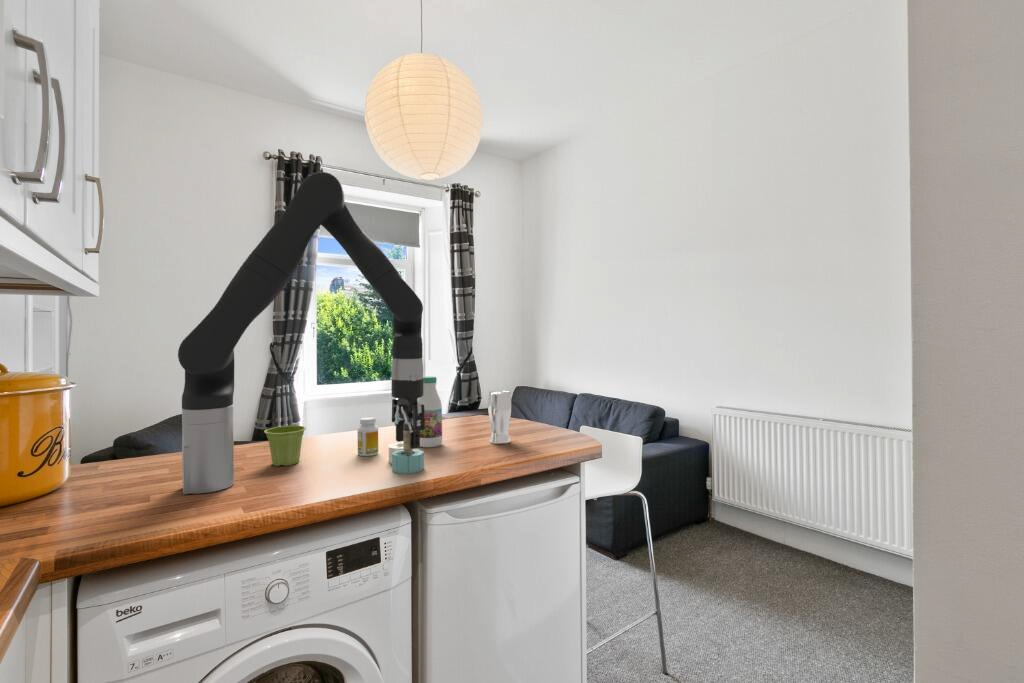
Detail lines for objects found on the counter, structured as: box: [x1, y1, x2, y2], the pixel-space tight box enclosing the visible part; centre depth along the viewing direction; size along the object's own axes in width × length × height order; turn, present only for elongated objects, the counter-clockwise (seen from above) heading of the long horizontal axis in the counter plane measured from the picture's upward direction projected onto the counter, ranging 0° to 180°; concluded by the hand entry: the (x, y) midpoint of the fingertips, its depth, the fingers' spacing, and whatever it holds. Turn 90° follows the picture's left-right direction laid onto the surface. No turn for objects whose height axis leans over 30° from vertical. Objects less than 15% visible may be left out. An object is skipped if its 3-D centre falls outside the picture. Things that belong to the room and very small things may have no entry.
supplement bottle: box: [357, 416, 379, 457], centre depth 130 cm, size 5×5×10 cm
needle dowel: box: [402, 423, 413, 455], centre depth 116 cm, size 2×2×11 cm
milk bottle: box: [417, 375, 443, 448], centre depth 141 cm, size 8×8×20 cm
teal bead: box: [391, 448, 425, 474], centre depth 116 cm, size 7×7×4 cm
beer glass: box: [487, 390, 512, 445], centre depth 144 cm, size 7×7×15 cm
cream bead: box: [388, 441, 418, 465], centre depth 124 cm, size 7×7×4 cm
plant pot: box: [263, 425, 306, 467], centre depth 121 cm, size 9×9×9 cm
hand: (407, 444), depth 116 cm, fingers open, 8 cm apart
